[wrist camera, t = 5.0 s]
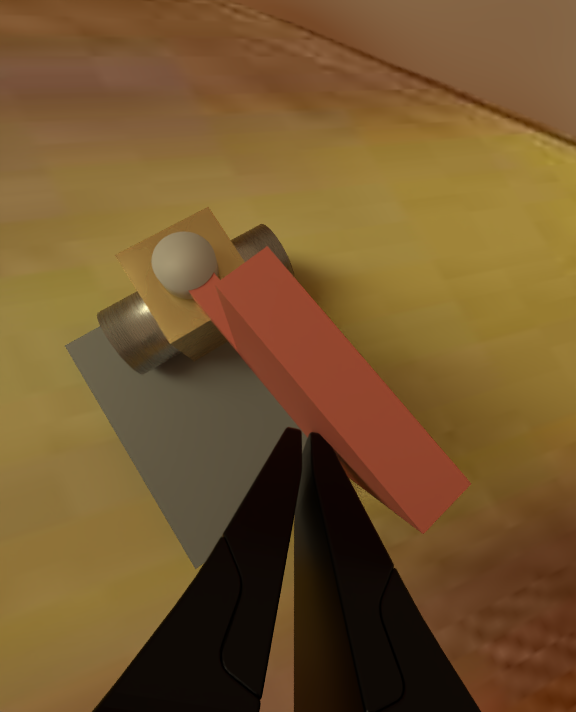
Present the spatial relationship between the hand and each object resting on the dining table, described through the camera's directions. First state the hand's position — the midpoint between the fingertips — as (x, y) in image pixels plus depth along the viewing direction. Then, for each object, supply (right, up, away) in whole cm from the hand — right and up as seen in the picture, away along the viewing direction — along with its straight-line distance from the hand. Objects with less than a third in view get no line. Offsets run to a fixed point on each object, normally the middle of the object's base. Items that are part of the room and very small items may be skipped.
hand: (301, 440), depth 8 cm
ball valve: (-5, +5, +11) cm, 13 cm away
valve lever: (-2, +2, +5) cm, 5 cm away
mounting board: (-4, 0, +10) cm, 11 cm away
